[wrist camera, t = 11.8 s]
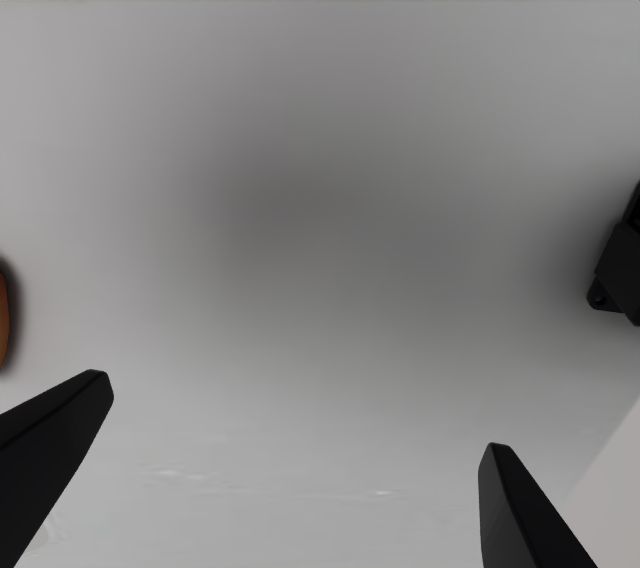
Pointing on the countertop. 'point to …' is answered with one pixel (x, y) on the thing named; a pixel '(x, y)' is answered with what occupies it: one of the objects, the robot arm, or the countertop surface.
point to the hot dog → (3, 320)
